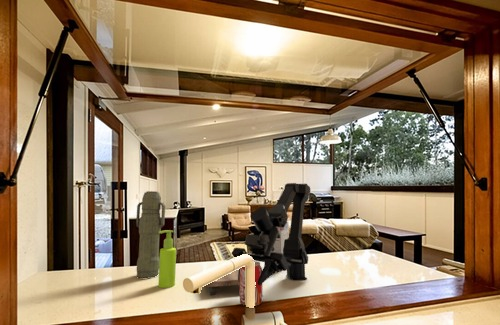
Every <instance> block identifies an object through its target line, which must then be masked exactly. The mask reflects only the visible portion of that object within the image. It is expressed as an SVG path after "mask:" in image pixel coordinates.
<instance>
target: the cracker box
mask: <svg viewBox="0 0 500 325" xmlns="http://www.w3.org/2000/svg"><path fill="white" fill-rule="evenodd" d="M277 229H278V231H279V234H280V238H277V239H276V241H275V244H274V246H273V247H274V251H271V252H277V253H283V248H284V241H285V239H288V237H289V236H290V228H289V221H287V223H286V225H285V227H283V228H281V227H277ZM279 272H282V270H279Z"/></svg>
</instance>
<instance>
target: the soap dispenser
mask: <svg viewBox="0 0 500 325" xmlns="http://www.w3.org/2000/svg"><path fill="white" fill-rule="evenodd" d="M158 233H160V235H162V234H165V233H166V237H165V239H164V240H163V248H159V260H160V261H159V272H158V273H159V275H158V284H157V285H158V288H161V289H168V288H172V287H175V285H176V265H177V264H176V263H177V262H176V261H177V248H176V247H174V238H172V233H174V230H171V229H169V230H168V229H165V230H161V231H160V232H158Z"/></svg>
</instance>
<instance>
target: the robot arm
mask: <svg viewBox="0 0 500 325" xmlns="http://www.w3.org/2000/svg"><path fill="white" fill-rule="evenodd" d="M310 194H311V187H310V185H308V184H307V183H296V182H289V183H288V182H287V183H286V184H284V189H283V190H282V193H281V195H280V196H279V198H278V200H277V202H276V204H275V205H274V206H272V207H271V208H269V209H267V207H266V205H265V206H260V207H259V208H257V209H255V210H254V211H253V212H251V215H250V218H251V220H252V222H253V224H254V225H255V228H256V230H257V231H258V232H261V233H260V234H259V235H257V234H249V233H248V234H246V236H245V240H244V245H245V246H248V247H249V248H248V249H249V251H250V252H247V250H246V249H245V248H244V247H242V248H241V247H234V248H233V250H232V252H231V253H230V254H231V255H232V257H233V258H234V257H237V256H240V255H242V254H248V255H250V256H252V257H253V259H254V260H253V261H256V262H260V263H264V265H263V267H262V273H261V275H260V277H259V280H258V285H261V284H262V285H263V284H264V282H265V281H267V280H268V279H269V278H270V277H272V276H273V275H274V274H276V273H279V272H280V271H279V270H282V271H283V272H286V275H285V276H286V277H287V278H288V279H290V280H291V281H303V280H308V278H307V276H306V269H305V268H306V265H308V262H309V256H308V254H307V252H306V247H305V246H306V245H305V244H304V241H303V239H302V235H303V224H304V223H303V222H304V212H305V211H304V210H305V204H306V203H307V201H309V199H310ZM291 204H292V209H291V218H290V219H291V220H290V228H289V237H288V239H285V241H284V248H283V253H277V252H271V251H274V247H273V246H274V244H275V241H276V239H277V238H280V234H279V231H278V229H277V227H281V228H283V227H285V225H286V223H287V222H288V218H289V216H288V211H289V208H291ZM238 269H239V268H238ZM282 271H281V272H282ZM238 280H239V281H240V269H239V272H238Z"/></svg>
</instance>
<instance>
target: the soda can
mask: <svg viewBox="0 0 500 325" xmlns="http://www.w3.org/2000/svg"><path fill="white" fill-rule="evenodd" d="M253 261H254V262H255V282H256V285H255V286H256V287H255V303H256V305H258V306H260V304H262V302H263V283H262V284H261V285H258V280H259V277H260V275H261V273H262V270H263V267H262V266H261V262H260V261H255V260H253ZM239 303H240V304H242V305H243V306H244V304H245V267H242V268H240V284H239Z"/></svg>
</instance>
